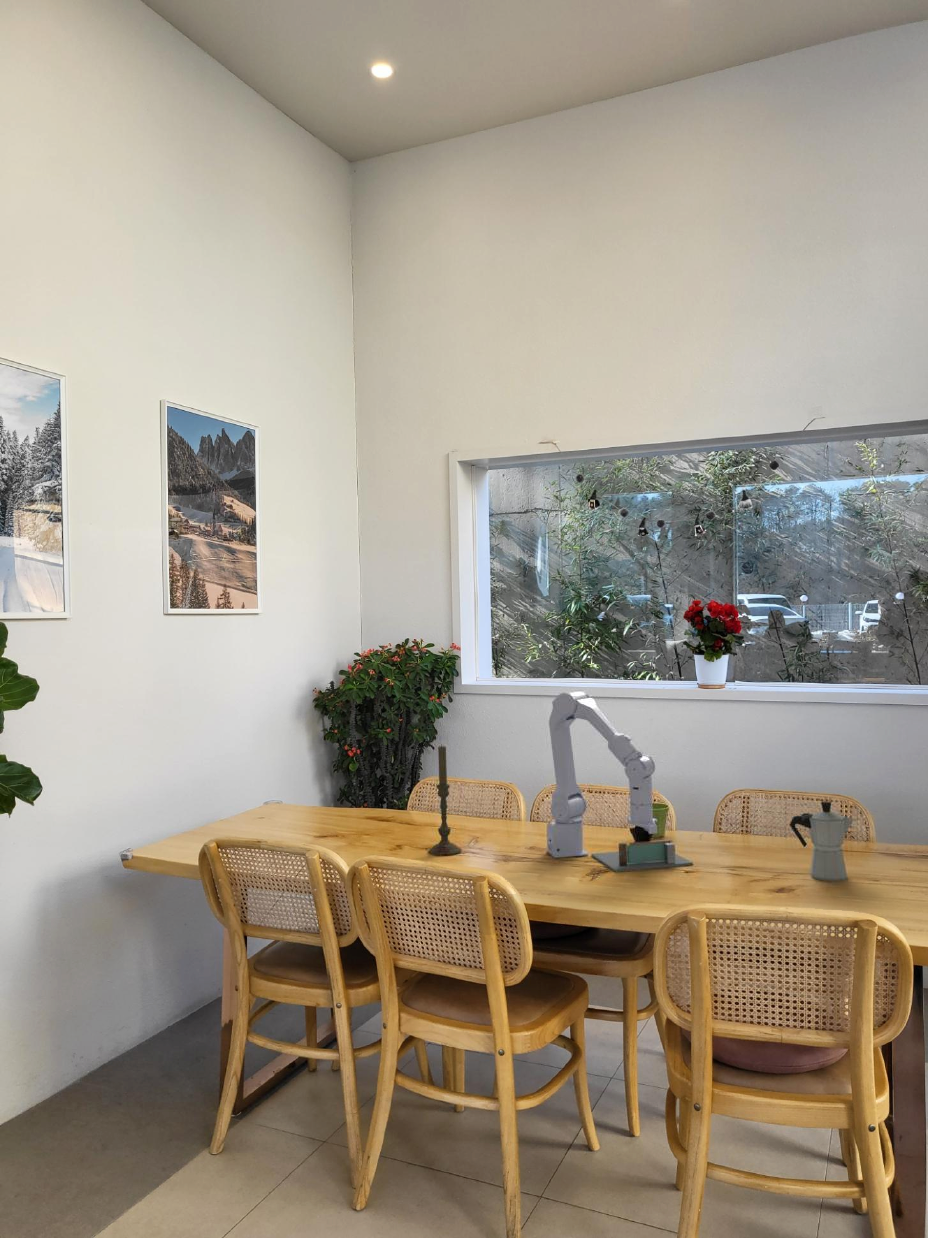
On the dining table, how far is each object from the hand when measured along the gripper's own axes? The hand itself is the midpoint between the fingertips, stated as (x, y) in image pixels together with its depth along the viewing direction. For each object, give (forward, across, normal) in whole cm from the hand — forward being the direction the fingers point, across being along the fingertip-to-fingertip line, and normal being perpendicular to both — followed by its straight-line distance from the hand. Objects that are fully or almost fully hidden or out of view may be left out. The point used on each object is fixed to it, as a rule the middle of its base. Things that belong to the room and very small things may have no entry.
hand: (642, 856), depth 241 cm
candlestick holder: (+2, +30, +46) cm, 55 cm away
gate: (+1, -2, -1) cm, 2 cm away
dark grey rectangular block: (+2, -4, -6) cm, 7 cm away
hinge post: (+2, -2, +6) cm, 7 cm away
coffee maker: (+2, -25, -36) cm, 44 cm away
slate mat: (+2, +3, -1) cm, 4 cm away
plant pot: (+2, +28, -16) cm, 33 cm away
